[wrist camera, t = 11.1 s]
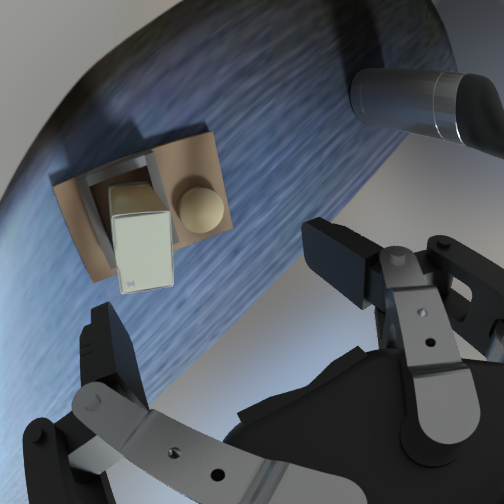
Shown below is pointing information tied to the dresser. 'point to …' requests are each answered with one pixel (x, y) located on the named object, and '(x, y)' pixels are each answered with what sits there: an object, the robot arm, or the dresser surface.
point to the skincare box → (140, 237)
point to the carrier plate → (165, 186)
